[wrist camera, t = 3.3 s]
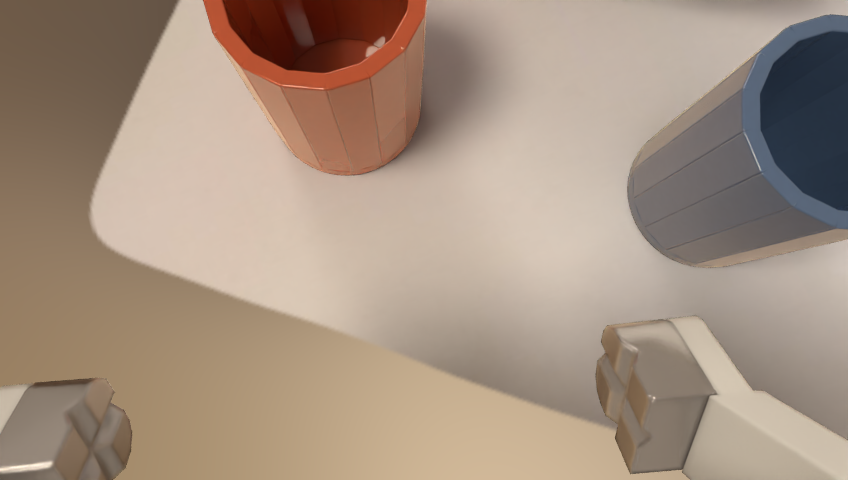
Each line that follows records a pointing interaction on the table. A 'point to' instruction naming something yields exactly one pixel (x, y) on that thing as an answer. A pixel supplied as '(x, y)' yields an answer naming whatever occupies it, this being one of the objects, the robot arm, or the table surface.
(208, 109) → the table surface
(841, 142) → the blue cup
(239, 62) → the rust cup
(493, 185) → the table surface
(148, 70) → the table surface
